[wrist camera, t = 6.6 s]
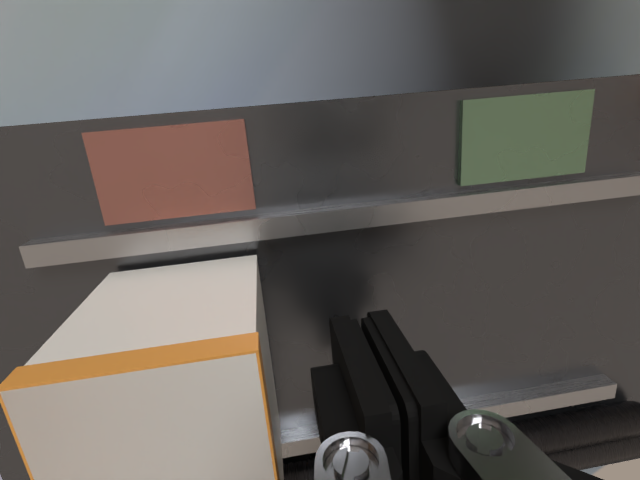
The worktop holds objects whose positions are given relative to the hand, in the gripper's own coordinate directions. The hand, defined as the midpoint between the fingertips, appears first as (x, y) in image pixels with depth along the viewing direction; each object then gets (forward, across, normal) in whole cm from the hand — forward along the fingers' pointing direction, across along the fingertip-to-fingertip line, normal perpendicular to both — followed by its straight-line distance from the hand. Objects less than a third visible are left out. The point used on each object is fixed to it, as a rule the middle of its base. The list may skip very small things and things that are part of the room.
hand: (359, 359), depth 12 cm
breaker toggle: (+1, +5, 0) cm, 5 cm away
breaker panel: (+6, -1, 0) cm, 6 cm away
